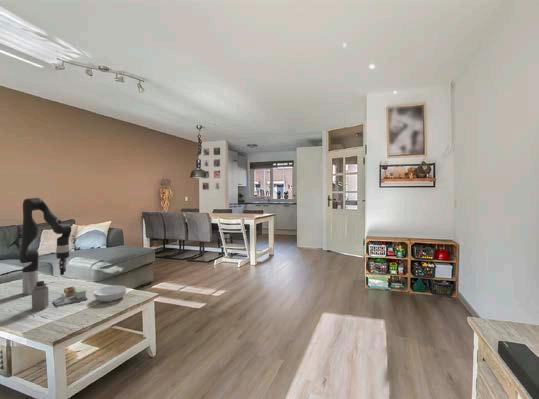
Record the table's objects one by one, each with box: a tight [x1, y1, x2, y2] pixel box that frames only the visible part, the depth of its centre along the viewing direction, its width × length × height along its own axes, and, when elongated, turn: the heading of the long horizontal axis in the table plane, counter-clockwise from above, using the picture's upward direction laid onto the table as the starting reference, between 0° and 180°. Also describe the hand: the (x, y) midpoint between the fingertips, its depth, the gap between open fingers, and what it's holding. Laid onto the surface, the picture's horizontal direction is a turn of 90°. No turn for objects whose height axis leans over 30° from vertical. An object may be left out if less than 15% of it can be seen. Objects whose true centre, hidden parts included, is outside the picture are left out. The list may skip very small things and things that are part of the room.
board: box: [52, 292, 88, 308], centre depth 199 cm, size 12×18×6 cm, turn 138°
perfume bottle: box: [31, 280, 49, 312], centre depth 186 cm, size 7×7×18 cm
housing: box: [74, 287, 87, 299], centre depth 203 cm, size 9×6×5 cm, turn 48°
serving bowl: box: [93, 285, 128, 302], centre depth 203 cm, size 21×21×7 cm
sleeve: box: [63, 286, 77, 298], centre depth 208 cm, size 6×6×6 cm
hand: (63, 273), depth 201 cm, fingers open, 8 cm apart
